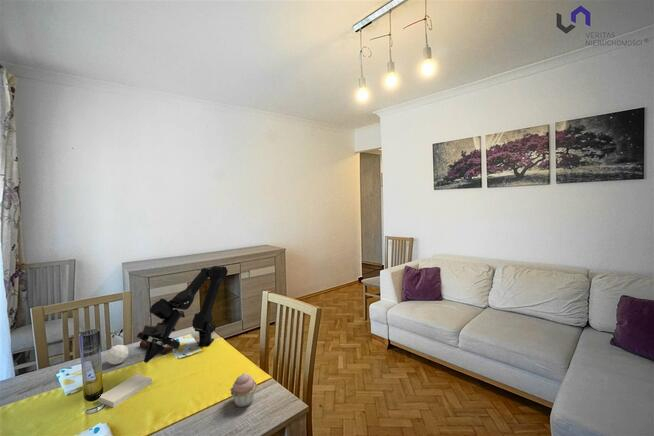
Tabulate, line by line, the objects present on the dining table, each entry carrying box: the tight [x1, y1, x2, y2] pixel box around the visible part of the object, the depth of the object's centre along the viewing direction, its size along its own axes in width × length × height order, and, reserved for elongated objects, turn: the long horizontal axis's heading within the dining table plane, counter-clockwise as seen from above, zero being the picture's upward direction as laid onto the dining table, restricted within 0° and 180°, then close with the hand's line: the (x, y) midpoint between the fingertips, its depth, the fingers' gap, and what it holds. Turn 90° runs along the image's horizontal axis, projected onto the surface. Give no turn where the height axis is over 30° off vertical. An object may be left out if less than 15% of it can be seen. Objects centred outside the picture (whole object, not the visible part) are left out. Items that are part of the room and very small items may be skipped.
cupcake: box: [229, 372, 258, 408], centre depth 98 cm, size 9×9×10 cm
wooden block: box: [97, 373, 153, 408], centre depth 102 cm, size 2×8×14 cm
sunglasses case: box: [139, 340, 174, 355], centre depth 134 cm, size 18×7×7 cm
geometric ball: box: [105, 344, 130, 365], centre depth 121 cm, size 8×8×8 cm
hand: (145, 362), depth 109 cm, fingers closed
